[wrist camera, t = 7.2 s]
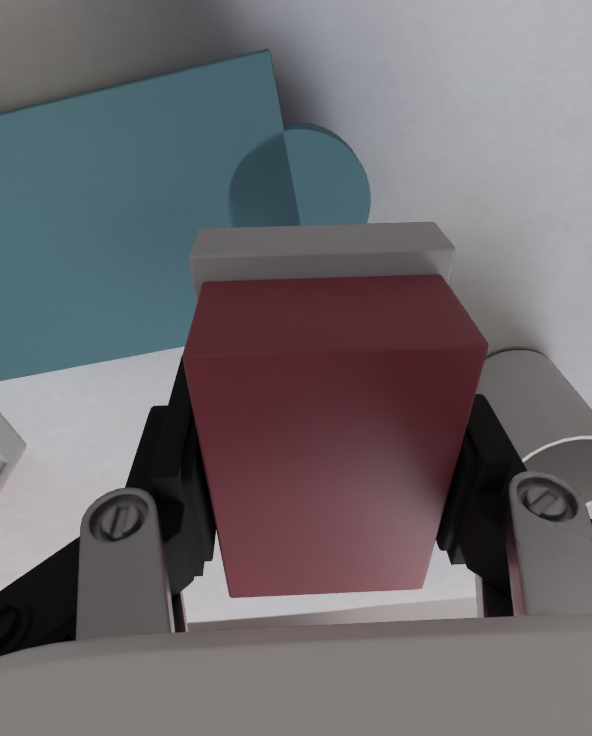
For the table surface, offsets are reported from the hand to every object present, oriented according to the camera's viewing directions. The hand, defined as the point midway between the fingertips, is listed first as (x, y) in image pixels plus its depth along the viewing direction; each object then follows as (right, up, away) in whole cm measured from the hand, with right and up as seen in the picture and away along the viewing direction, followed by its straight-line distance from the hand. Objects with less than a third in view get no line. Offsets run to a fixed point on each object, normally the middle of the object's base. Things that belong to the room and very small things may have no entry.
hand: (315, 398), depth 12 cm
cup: (+14, 0, +23) cm, 27 cm away
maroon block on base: (0, 0, 0) cm, 0 cm away
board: (-9, +9, +14) cm, 19 cm away
